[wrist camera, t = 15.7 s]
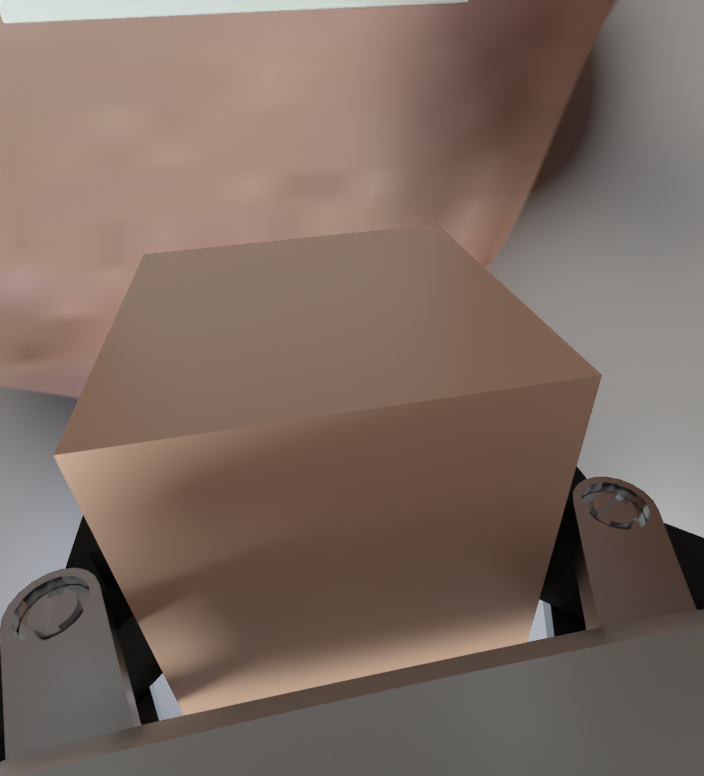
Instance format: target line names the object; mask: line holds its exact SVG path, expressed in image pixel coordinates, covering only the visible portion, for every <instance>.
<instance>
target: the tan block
mask: <svg viewBox="0 0 704 776" xmlns="http://www.w3.org/2000/svg"><path fill="white" fill-rule="evenodd" d="M601 376H602V375H601V374H600V373H599V372H598V371H597V370H596V369H595V368H594V367H592V366H591V365H590V364H589V363H588V362H587V361H586V360H585V359H583V357H581V356H580V355H579V354H578V353H577V352H576V351H575V350H574V349H573V348H572V347H570V345H568V344H567V343H566V342H565V341H564V340H563V339H562V338H561V337H560V336H559V335H558V334H556V333H555V332H554V331H553V330H552V329H551V328H550V327H549V326H548V325H547V324H545V323H544V322H543V321H542V320H541V319H540V318H539V317H537V315H536V314H534V313H533V312H532V311H531V310H530V309H529V308H528V307H527V306H526V305H525V304H524V303H522V302H521V301H520V300H519V299H518V298H517V297H516V296H515V295H514V294H513V293H512V292H510V291H509V290H508V289H507V288H506V287H505V286H504V285H503V284H502V283H501V282H500V281H498V280H497V279H496V278H495V277H494V276H493V275H492V274H491V273H490V272H489V271H488V270H486V269H485V268H484V267H483V266H482V265H481V264H480V263H479V262H478V261H477V260H476V259H474V258H473V257H472V256H471V255H470V254H469V253H468V252H467V251H466V250H465V249H463V248H462V247H461V246H460V245H459V244H458V243H457V242H456V241H455V240H454V239H453V238H451V237H450V236H449V235H448V234H447V233H446V232H445V231H444V230H443V229H442V228H441V227H439V226H438V225H427V226H418V227H408V228H398V229H388V230H378V231H369V232H359V233H349V234H339V235H329V236H320V237H310V238H300V239H290V240H281V241H271V242H261V243H251V244H241V245H232V246H222V247H212V248H202V249H193V250H183V251H173V252H163V253H153V254H144V256H143V258H142V260H141V262H140V265H139V267H138V269H137V271H136V273H135V276H134V278H133V280H132V282H131V285H130V287H129V289H128V291H127V293H126V296H125V298H124V300H123V302H122V304H121V307H120V309H119V311H118V313H117V316H116V318H115V320H114V322H113V324H112V327H111V329H110V331H109V333H108V335H107V338H106V340H105V342H104V344H103V347H102V349H101V351H100V353H99V355H98V358H97V360H96V362H95V364H94V366H93V369H92V371H91V373H90V375H89V378H88V380H87V382H86V384H85V386H84V389H83V391H82V393H81V395H80V397H79V400H78V402H77V405H76V406H75V409H74V411H73V413H72V415H71V417H70V420H69V422H68V424H67V426H66V428H65V431H64V433H63V435H62V437H61V439H60V442H59V444H58V446H57V448H56V451H55V453H54V455H53V456H54V458H55V460H56V461H57V464H58V466H59V468H60V470H61V472H62V473H63V476H64V477H65V479H66V481H67V483H68V485H69V487H70V489H71V491H72V493H73V495H74V497H75V499H76V501H77V503H78V505H79V507H80V509H81V511H82V513H83V515H84V517H85V519H86V521H87V523H88V525H89V527H90V529H91V531H92V533H93V535H94V537H95V539H96V541H97V543H98V545H99V547H100V549H101V551H102V553H103V555H104V557H105V559H106V561H107V563H108V565H109V567H110V569H111V571H112V573H113V575H114V577H115V579H116V581H117V583H118V585H119V587H120V589H121V591H122V593H123V595H124V597H125V599H126V601H127V602H128V604H129V606H130V608H131V610H132V612H133V614H134V616H135V618H136V620H137V622H138V624H139V626H140V628H141V630H142V632H143V634H144V636H145V638H146V640H147V642H148V644H149V646H150V648H151V650H152V652H153V654H154V656H155V658H156V660H157V662H158V664H159V666H160V668H161V670H162V672H163V674H164V676H165V678H166V680H167V682H168V684H169V686H170V688H171V690H172V692H173V694H174V696H175V698H176V700H177V702H178V703H179V706H180V708H181V710H182V712H183V714H184V715H189V714H194V713H198V712H203V711H207V710H212V709H217V708H221V707H226V706H230V705H235V704H240V703H244V702H249V701H253V700H258V699H262V698H267V697H272V696H276V695H281V694H285V693H290V692H295V691H299V690H304V689H308V688H313V687H318V686H323V685H327V684H332V683H337V682H341V681H346V680H351V679H355V678H360V677H365V676H369V675H374V674H379V673H383V672H388V671H393V670H398V669H402V668H407V667H412V666H416V665H421V664H426V663H431V662H435V661H440V660H445V659H450V658H454V657H459V656H464V655H468V654H473V653H478V652H483V651H488V650H493V649H497V648H502V647H507V646H512V645H517V644H522V643H526V642H527V641H528V637H529V634H530V630H531V626H532V623H533V619H534V615H535V612H536V609H537V605H538V601H539V598H540V594H541V591H542V587H543V584H544V580H545V576H546V573H547V569H548V566H549V562H550V559H551V555H552V551H553V548H554V544H555V541H556V537H557V534H558V530H559V526H560V523H561V519H562V516H563V512H564V508H565V505H566V501H567V498H568V494H569V491H570V487H571V483H572V480H573V476H574V473H575V469H576V465H577V462H578V458H579V454H580V451H581V447H582V444H583V440H584V437H585V433H586V430H587V426H588V423H589V419H590V415H591V412H592V408H593V405H594V401H595V397H596V394H597V390H598V387H599V383H600V379H601Z"/></svg>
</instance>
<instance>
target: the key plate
mask: <svg viewBox="0 0 704 776" xmlns="http://www.w3.org/2000/svg"><path fill="white" fill-rule="evenodd" d="M463 2H468V0H0V14H1V17H2V20H3V23H10V24H22V23H43V22H65V21H86V20H108V19H129V18H151V17H172V16H194V15H216V14H237V13H259V12H280V11H302V10H323V9H345V8H367V7H388V6H410V5H431V4H453V3H463Z"/></svg>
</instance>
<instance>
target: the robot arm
mask: <svg viewBox="0 0 704 776" xmlns="http://www.w3.org/2000/svg"><path fill="white" fill-rule="evenodd" d="M539 599H540V600H542V601H543V605H544V614H545V622H546V630H547V638H546V639H541V640H536V641H531V642H526V643H522V644H517V645H512V646H507V647H502V648H497V649H493V650H488V651H483V652H478V653H473V654H468V655H464V656H459V657H454V658H450V659H445V660H440V661H435V662H431V663H426V664H421V665H416V666H412V667H407V668H402V669H398V670H393V671H388V672H383V673H379V674H374V675H369V676H365V677H360V678H355V679H351V680H346V681H341V682H337V683H332V684H327V685H323V686H318V687H313V688H308V689H304V690H299V691H295V692H290V693H285V694H281V695H276V696H272V697H267V698H262V699H258V700H253V701H249V702H244V703H240V704H235V705H230V706H226V707H221V708H217V709H212V710H207V711H203V712H198V713H194V714H189V715H184V716H180V717H175V718H171V719H167V720H163V718H162V715H161V711H160V708H159V704H158V700H157V697H156V693H155V690H154V687H153V683H154V682H155V681H156V679H157V678H158V677H159V676H160V675H161V674H162V673H163V672H162V670H161V668H160V666H159V664H158V662H157V660H156V658H155V656H154V654H153V652H152V650H151V648H150V646H149V644H148V642H147V640H146V638H145V636H144V634H143V632H142V630H141V628H140V626H139V624H138V622H137V620H136V618H135V616H134V614H133V612H132V610H131V608H130V606H129V604H128V602H127V601H126V599H125V597H124V595H123V593H122V591H121V589H120V587H119V585H118V583H117V581H116V579H115V577H114V575H113V573H112V571H111V569H110V567H109V565H108V563H107V561H106V559H105V557H104V555H103V553H102V551H101V549H100V547H99V545H98V543H97V541H96V539H95V537H94V535H93V533H92V531H91V529H90V527H89V525H88V523H87V521H86V519H85V517H84V515H83V517H82V520H81V523H80V526H79V530H78V532H77V535H76V538H75V541H74V544H73V547H72V550H71V553H70V556H69V559H68V562H67V565H66V568H65V569H60V570H57V571H54V572H51V573H48V574H46V575H44V576H42V577H40V578H39V579H37V580H35V581H33V582H32V583H30V584H29V585H28V586H27V587H26V588H24V589H23V590H22V591H21V592H19V593H18V595H17V596H16V597H15V598H14V599H13V601H12V602H11V603H10V604H9V605H8V607H7V609H6V611H5V613H4V615H3V617H2V620H1V627H0V776H704V538H702V537H699V536H697V535H695V534H692V533H689V532H686V531H684V530H681V529H679V528H676V527H673V526H671V525H668V524H665V523H663V520H662V517H661V515H660V513H659V510H658V508H657V507H656V505H655V503H654V501H653V500H652V499H651V498H650V497H649V496H648V495H647V494H646V493H645V492H644V491H642V490H640V489H639V488H637V487H636V486H634V485H632V484H630V483H628V482H625V481H622V480H620V479H614V478H610V477H593V478H589V479H586V477H585V476H584V475H583V474H582V472H581V471H580V470H579V469H578V467H577V466H576V469H575V473H574V476H573V480H572V483H571V487H570V491H569V494H568V498H567V501H566V505H565V508H564V512H563V516H562V519H561V523H560V526H559V530H558V534H557V537H556V541H555V544H554V548H553V551H552V555H551V559H550V562H549V566H548V569H547V573H546V576H545V580H544V584H543V587H542V591H541V594H540V598H539Z"/></svg>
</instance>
